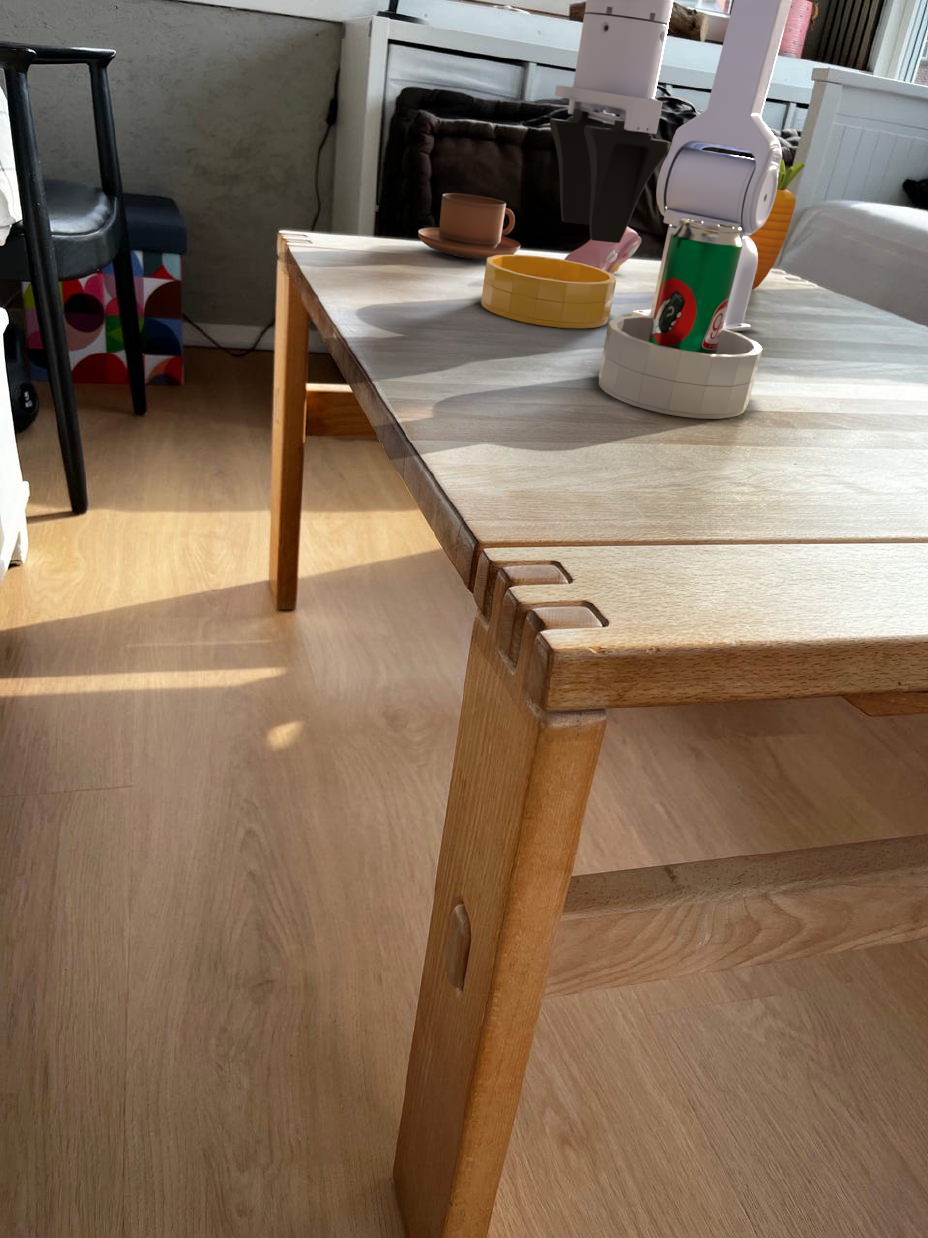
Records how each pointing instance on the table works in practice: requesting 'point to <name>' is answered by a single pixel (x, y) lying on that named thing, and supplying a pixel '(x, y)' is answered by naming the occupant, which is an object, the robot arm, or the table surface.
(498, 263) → the bowl
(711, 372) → the pot
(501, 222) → the cup and saucer
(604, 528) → the table surface
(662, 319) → the soda can
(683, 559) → the table surface
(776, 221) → the carrot
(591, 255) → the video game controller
